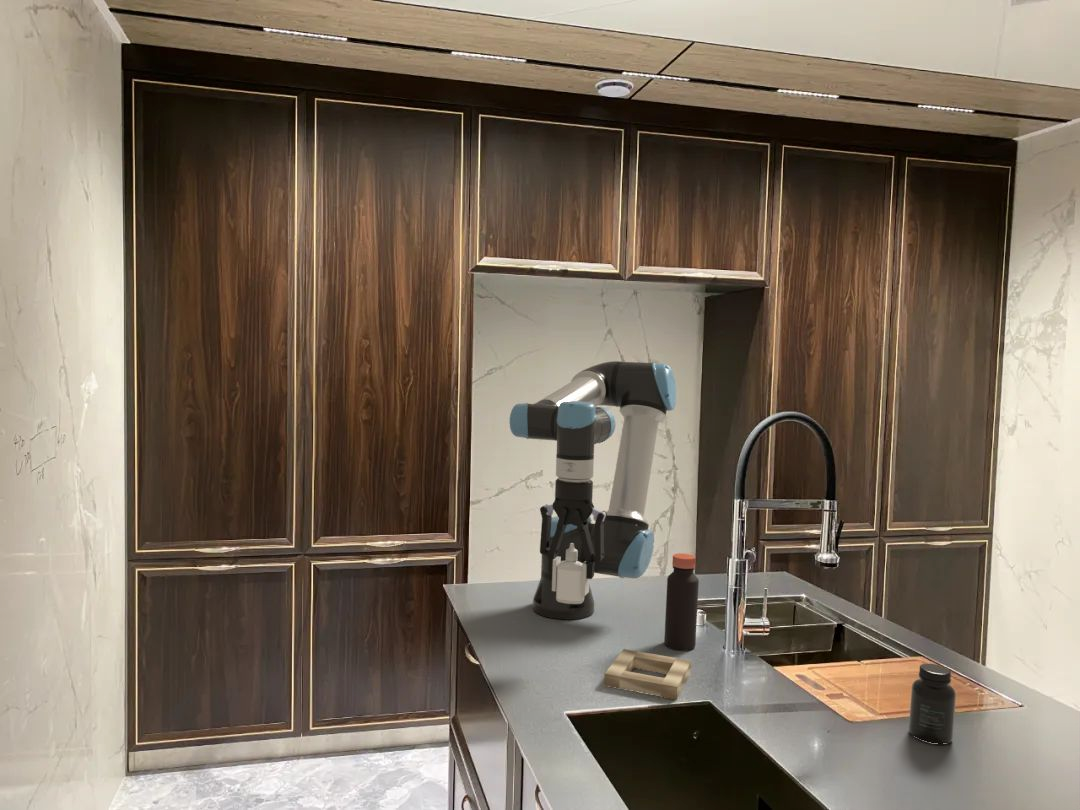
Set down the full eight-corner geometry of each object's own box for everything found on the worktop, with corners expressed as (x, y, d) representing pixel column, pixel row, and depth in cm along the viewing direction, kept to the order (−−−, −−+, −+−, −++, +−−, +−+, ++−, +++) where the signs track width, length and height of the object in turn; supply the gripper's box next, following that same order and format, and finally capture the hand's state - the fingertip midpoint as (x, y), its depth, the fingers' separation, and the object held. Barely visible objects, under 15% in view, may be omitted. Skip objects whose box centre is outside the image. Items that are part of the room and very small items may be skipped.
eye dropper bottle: (574, 607, 161) (576, 548, 160) (552, 600, 165) (554, 542, 164) (587, 602, 164) (589, 544, 163) (566, 595, 168) (567, 539, 167)
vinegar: (693, 641, 181) (698, 553, 180) (696, 652, 174) (701, 561, 173) (663, 638, 182) (667, 551, 180) (664, 650, 175) (669, 559, 174)
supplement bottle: (914, 723, 144) (919, 657, 143) (956, 736, 140) (961, 668, 139) (903, 736, 139) (908, 668, 138) (946, 750, 135) (952, 680, 134)
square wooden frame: (623, 660, 168) (623, 648, 168) (690, 672, 163) (691, 660, 163) (604, 686, 155) (604, 673, 155) (676, 700, 150) (677, 687, 150)
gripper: (524, 477, 162) (521, 590, 164) (613, 486, 156) (609, 603, 158) (537, 471, 169) (534, 580, 171) (624, 480, 163) (619, 592, 165)
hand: (570, 591), depth 164 cm, fingers closed on eye dropper bottle, 6 cm apart
